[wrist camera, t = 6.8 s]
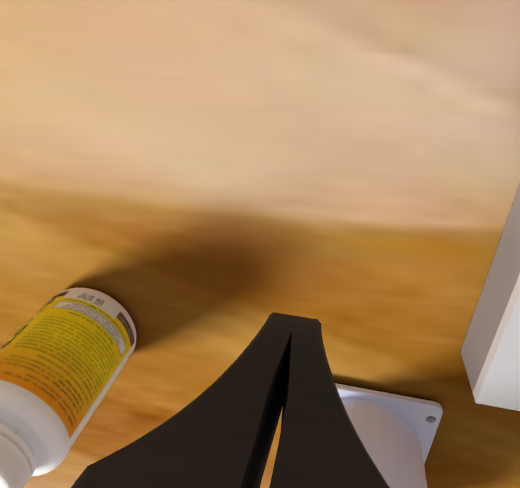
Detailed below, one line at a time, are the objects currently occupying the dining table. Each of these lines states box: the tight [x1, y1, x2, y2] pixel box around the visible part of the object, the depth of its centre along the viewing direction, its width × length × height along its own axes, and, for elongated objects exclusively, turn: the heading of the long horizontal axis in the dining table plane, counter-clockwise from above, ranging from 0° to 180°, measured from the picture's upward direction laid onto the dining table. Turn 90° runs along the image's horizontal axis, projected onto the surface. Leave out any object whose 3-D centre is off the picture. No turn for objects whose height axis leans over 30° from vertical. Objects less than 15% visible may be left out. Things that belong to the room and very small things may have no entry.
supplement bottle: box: [0, 288, 136, 488], centre depth 22 cm, size 6×6×10 cm
